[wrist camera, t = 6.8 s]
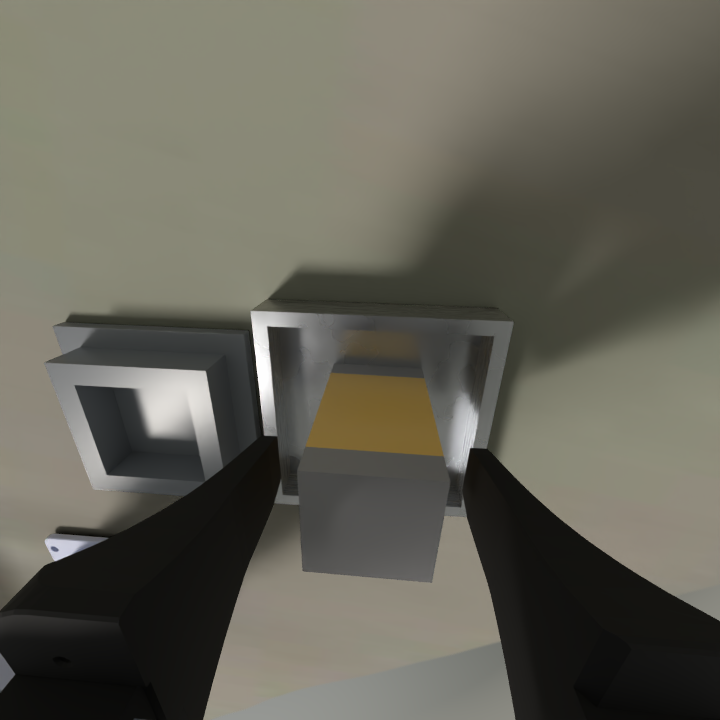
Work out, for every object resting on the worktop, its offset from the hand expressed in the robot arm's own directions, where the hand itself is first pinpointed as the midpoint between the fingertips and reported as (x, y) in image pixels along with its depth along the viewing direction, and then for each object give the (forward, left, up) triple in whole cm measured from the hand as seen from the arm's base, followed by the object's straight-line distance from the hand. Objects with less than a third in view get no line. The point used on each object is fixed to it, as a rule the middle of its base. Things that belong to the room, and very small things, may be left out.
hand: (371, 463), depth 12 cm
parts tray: (0, 0, -4) cm, 4 cm away
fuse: (0, 0, -4) cm, 4 cm away
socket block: (-1, +10, -4) cm, 11 cm away
